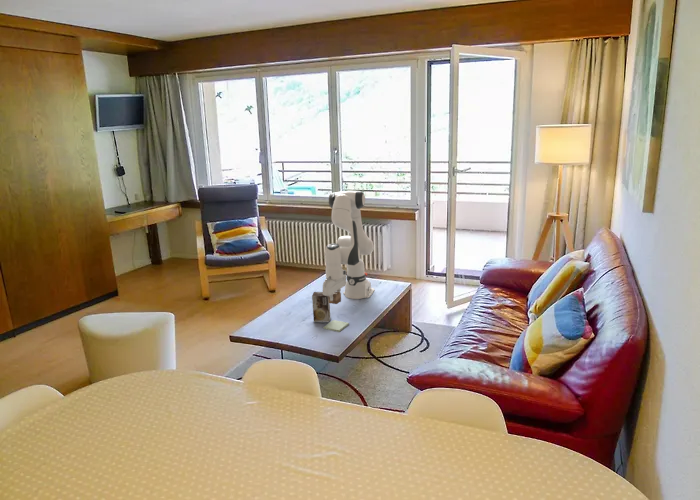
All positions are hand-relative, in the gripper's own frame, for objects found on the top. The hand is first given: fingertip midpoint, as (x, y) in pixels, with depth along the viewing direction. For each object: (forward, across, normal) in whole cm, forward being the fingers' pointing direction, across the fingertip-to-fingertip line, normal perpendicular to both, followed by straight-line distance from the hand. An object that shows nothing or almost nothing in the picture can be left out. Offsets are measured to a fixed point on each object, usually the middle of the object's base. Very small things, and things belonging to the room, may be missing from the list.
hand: (334, 298), depth 272 cm
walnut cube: (+2, 0, 0) cm, 2 cm away
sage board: (+16, 0, 0) cm, 17 cm away
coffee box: (+17, +5, +12) cm, 21 cm away
